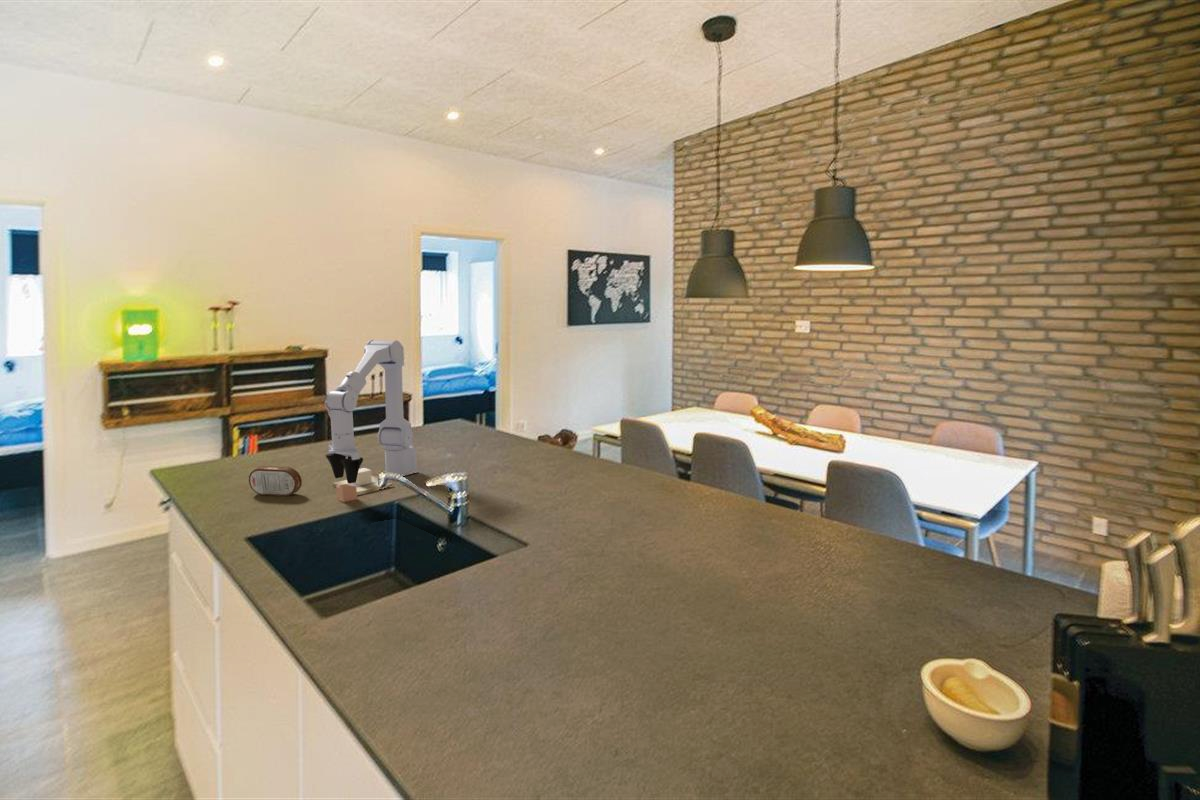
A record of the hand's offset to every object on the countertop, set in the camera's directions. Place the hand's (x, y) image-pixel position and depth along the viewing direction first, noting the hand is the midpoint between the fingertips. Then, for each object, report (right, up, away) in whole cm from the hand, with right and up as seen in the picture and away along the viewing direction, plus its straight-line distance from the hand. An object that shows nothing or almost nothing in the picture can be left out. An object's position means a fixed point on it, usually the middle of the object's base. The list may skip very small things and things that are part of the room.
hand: (345, 480), depth 175 cm
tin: (-22, -5, +5) cm, 23 cm away
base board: (0, -4, +13) cm, 13 cm away
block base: (0, -3, +13) cm, 13 cm away
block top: (0, -6, +1) cm, 6 cm away
